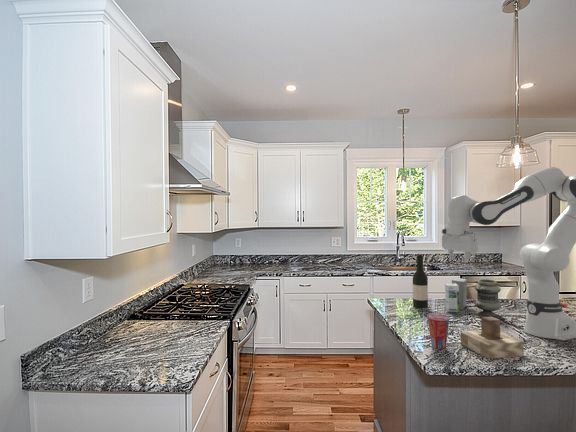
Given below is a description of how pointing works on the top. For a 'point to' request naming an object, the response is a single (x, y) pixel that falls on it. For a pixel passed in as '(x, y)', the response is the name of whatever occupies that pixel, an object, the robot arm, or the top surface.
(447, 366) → the top surface
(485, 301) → the grey ceramic vase
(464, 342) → the socket block
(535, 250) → the robot arm
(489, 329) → the walnut peg
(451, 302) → the syrup box
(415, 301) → the wine bottle
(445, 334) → the cup
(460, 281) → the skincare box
